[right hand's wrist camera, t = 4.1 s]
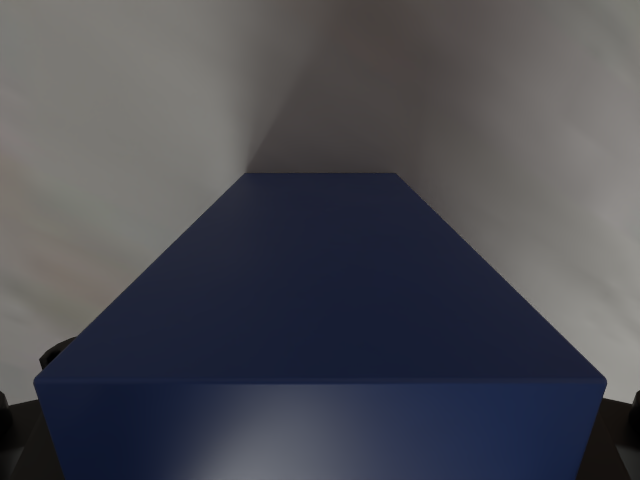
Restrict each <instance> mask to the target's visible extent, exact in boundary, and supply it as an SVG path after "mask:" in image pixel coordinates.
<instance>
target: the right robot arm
mask: <svg viewBox="0 0 640 480" xmlns="http://www.w3.org/2000/svg"><path fill="white" fill-rule="evenodd" d="M75 338H76V337H73V338H70V339H68V340H66V341H63V342H61V343H58V344H57V345H55V346H54V347H52V348H51V349H49V350H48V351H46V352H45V353H44V355H43V356H42V357H41V358H40V359H39V361H40V364H41V367H42V370H43V369H44V368H45V367H46V366H47V365H48V364H49V363H50V362H52V361H53V360H54V359H55V358H56V357H57V356H58V355H59V354H60V353H61V352H62V351H63V350H64V349H65V348H66V347H67V346H68V345H69V344H70V343H71V342H72V341H73V340H74V339H75ZM0 480H65V478H64V475H63V472H62V469H61V466H60V463H59V460H58V457H57V454H56V451H55V448H54V445H53V442H52V439H51V436H50V433H49V430H48V427H47V423H46V420H45V417H44V414H43V411H42V408H41V405H40V402H39V399H38V400H33V401H29V402H24V403H19V404H15V405H10V406H9V405H8V403H7V400H6V397H5V394H3V393H2V392H1V391H0ZM575 480H640V390H639V391H638V392H637V393H636V395H635V398H634V401H633V404H629V403H624V402H619V401H615V400H610V399H606V398H602V401H601V404H600V407H599V410H598V413H597V416H596V419H595V422H594V425H593V428H592V431H591V434H590V437H589V440H588V443H587V446H586V449H585V452H584V455H583V458H582V461H581V464H580V467H579V470H578V473H577V476H576V479H575Z"/></svg>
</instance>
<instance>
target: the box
mask: <svg viewBox="0 0 640 480" xmlns="http://www.w3.org/2000/svg"><path fill="white" fill-rule="evenodd" d="M33 384H34V387H35V390H36V393H37V396H38V399H39V402H40V405H41V408H42V411H43V414H44V417H45V420H46V423H47V427H48V430H49V433H50V436H51V439H52V442H53V445H54V448H55V451H56V454H57V457H58V460H59V463H60V466H61V469H62V472H63V475H64V478H65V480H575V479H576V476H577V473H578V470H579V467H580V464H581V461H582V458H583V455H584V452H585V449H586V446H587V443H588V440H589V437H590V434H591V431H592V428H593V425H594V422H595V419H596V416H597V413H598V410H599V407H600V404H601V401H602V398H603V395H604V392H605V389H606V386H607V380H606V378H605V377H604V376H603V375H602V374H601V373H600V372H599V371H598V370H597V369H596V368H595V367H594V366H593V365H592V364H591V363H590V362H589V361H588V360H587V359H586V358H585V357H584V356H583V355H582V354H581V353H580V352H578V351H577V350H576V349H575V348H574V347H573V346H572V345H571V344H570V343H569V342H568V341H567V340H566V339H565V338H564V337H563V336H562V335H561V334H560V333H559V332H558V331H557V330H556V329H555V328H554V327H553V326H552V325H551V324H550V323H549V322H548V321H547V320H546V319H545V318H544V317H543V316H542V315H541V314H539V313H538V312H537V311H536V310H535V309H534V308H533V307H532V306H531V305H530V304H529V303H528V302H527V301H526V300H525V299H524V298H523V297H522V296H521V295H520V294H519V293H518V292H517V291H516V290H515V289H514V288H513V287H512V286H511V285H510V284H509V283H508V282H507V281H506V280H505V279H504V278H503V277H502V276H500V275H499V274H498V273H497V272H496V271H495V270H494V269H493V268H492V267H491V266H490V265H489V264H488V263H487V262H486V261H485V260H484V259H483V258H482V257H481V256H480V255H479V254H478V253H477V252H476V251H475V250H474V249H473V248H472V247H471V246H470V245H469V244H468V243H467V242H466V241H465V240H464V239H463V238H462V237H460V236H459V235H458V234H457V233H456V232H455V231H454V230H453V229H452V228H451V227H450V226H449V225H448V224H447V223H446V222H445V221H444V220H443V219H442V218H441V217H440V216H439V215H438V214H437V213H436V212H435V211H434V210H433V209H432V208H431V207H430V206H429V205H428V204H427V203H426V202H425V201H424V200H423V199H421V198H420V197H419V196H418V195H417V194H416V193H415V192H414V191H413V190H412V189H411V188H410V187H409V186H408V185H407V184H406V183H405V182H404V181H403V180H402V179H401V178H400V177H399V176H398V175H397V174H396V173H245V174H243V175H242V176H241V177H240V178H239V179H238V180H237V181H236V182H235V183H234V184H233V185H232V186H231V187H230V188H229V189H228V190H227V191H226V192H225V193H224V194H223V195H222V196H221V197H220V198H219V199H218V200H217V201H216V202H215V203H214V204H213V205H212V206H211V207H210V208H209V209H208V210H206V211H205V212H204V213H203V214H202V215H201V216H200V217H199V218H198V219H197V220H196V221H195V222H194V223H193V224H192V225H191V226H190V227H189V228H188V229H187V230H186V231H185V232H184V233H183V234H182V235H181V236H180V237H179V238H178V239H177V240H176V241H175V242H174V243H173V244H172V245H171V246H170V247H169V248H167V249H166V250H165V251H164V252H163V253H162V254H161V255H160V256H159V257H158V258H157V259H156V260H155V261H154V262H153V263H152V264H151V265H150V266H149V267H148V268H147V269H146V270H145V271H144V272H143V273H142V274H141V275H140V276H139V277H138V278H137V279H136V280H135V281H134V282H133V283H132V284H131V285H130V286H128V287H127V288H126V289H125V290H124V291H123V292H122V293H121V294H120V295H119V296H118V297H117V298H116V299H115V300H114V301H113V302H112V303H111V304H110V305H109V306H108V307H107V308H106V309H105V310H104V311H103V312H102V313H101V314H100V315H99V316H98V317H97V318H96V319H95V320H94V321H93V322H92V323H91V324H89V325H88V326H87V327H86V328H85V329H84V330H83V331H82V332H81V333H80V334H79V335H78V336H77V337H76V338H75V339H74V340H73V341H72V342H71V343H70V344H69V345H68V346H67V347H66V348H65V349H64V350H63V351H62V352H61V353H60V354H59V355H58V356H57V357H56V358H55V359H54V360H53V361H52V362H50V363H49V364H48V365H47V366H46V367H45V368H44V369H43V370H42V371H41V372H40V373H39V374H38V375H37V376H36V377H35V379H34V382H33Z"/></svg>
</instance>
